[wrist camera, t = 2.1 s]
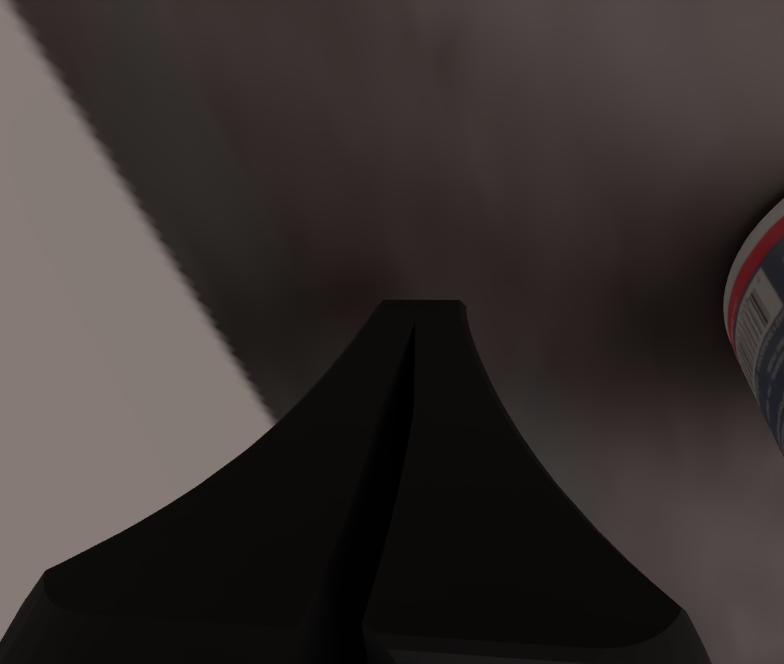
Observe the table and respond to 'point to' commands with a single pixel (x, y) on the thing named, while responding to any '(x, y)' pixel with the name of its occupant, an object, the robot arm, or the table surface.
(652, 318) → the table surface
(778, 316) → the pill bottle
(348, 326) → the table surface
